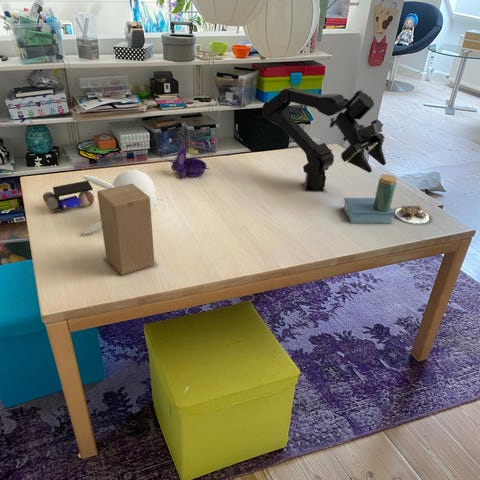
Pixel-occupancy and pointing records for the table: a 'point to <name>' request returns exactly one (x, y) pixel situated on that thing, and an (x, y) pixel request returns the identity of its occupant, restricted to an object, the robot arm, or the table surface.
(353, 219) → the slate blue base plate
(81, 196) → the toy car
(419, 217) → the frog figurine
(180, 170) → the creature
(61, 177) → the table surface
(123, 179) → the stuffed toy
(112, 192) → the wooden block
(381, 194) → the canister
